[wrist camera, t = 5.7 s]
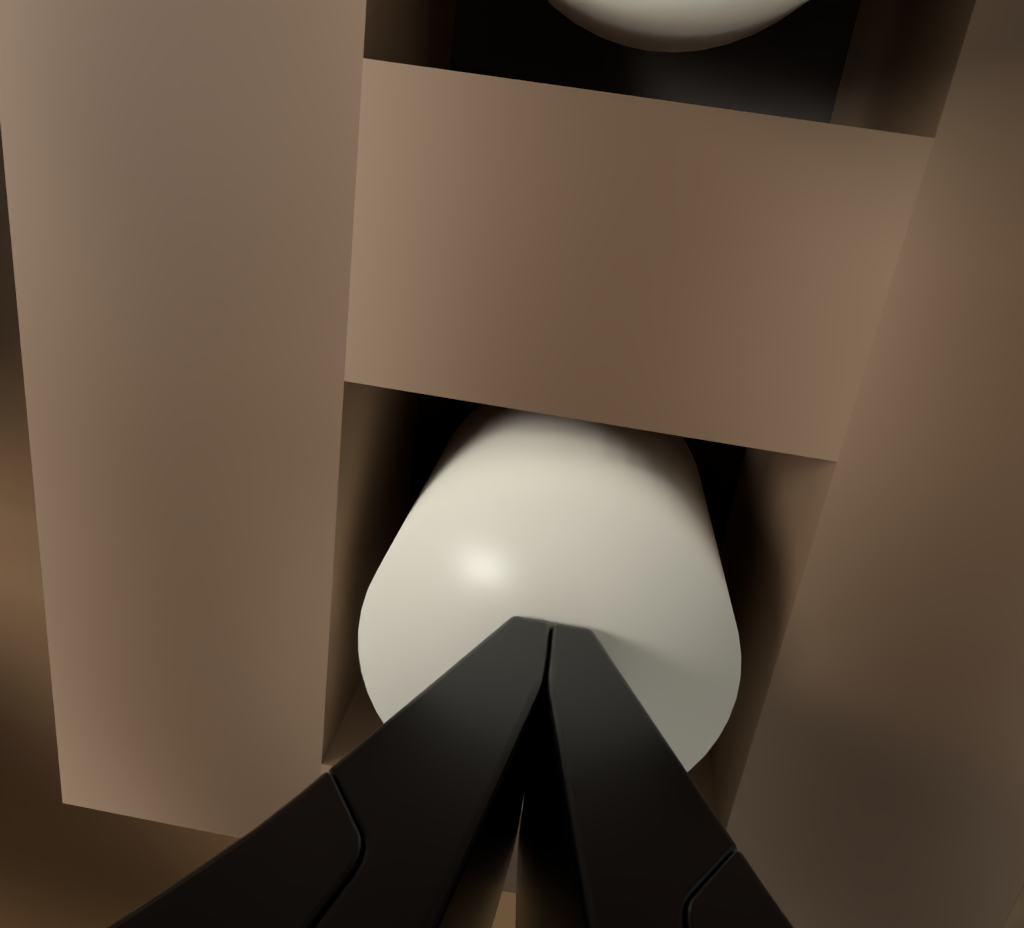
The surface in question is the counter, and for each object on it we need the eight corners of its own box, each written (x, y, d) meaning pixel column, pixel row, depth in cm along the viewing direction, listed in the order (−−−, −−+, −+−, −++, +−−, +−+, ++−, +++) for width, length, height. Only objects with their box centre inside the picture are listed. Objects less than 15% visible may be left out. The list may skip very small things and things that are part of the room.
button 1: (731, 401, 12) (785, 526, 8) (673, 644, 13) (694, 844, 9) (448, 356, 12) (371, 455, 8) (422, 599, 13) (347, 777, 10)
